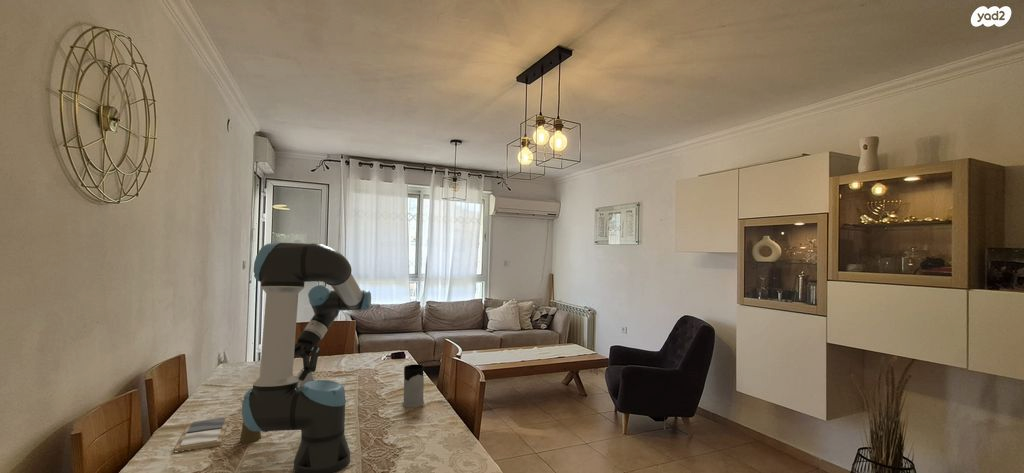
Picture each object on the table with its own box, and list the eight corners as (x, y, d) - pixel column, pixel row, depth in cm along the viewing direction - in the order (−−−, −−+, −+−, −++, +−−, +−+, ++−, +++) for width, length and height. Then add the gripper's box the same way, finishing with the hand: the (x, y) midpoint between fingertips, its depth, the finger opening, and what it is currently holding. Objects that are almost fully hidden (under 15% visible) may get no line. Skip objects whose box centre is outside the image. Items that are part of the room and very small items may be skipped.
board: (221, 445, 140) (221, 440, 140) (174, 452, 134) (174, 447, 134) (229, 420, 159) (229, 416, 159) (189, 426, 154) (189, 421, 154)
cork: (256, 433, 148) (257, 401, 149) (264, 438, 144) (265, 405, 145) (236, 439, 144) (237, 405, 144) (243, 445, 140) (244, 410, 140)
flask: (299, 384, 203) (300, 362, 203) (316, 382, 206) (317, 360, 206) (299, 388, 196) (299, 366, 196) (316, 386, 199) (317, 364, 199)
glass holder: (407, 409, 173) (408, 370, 173) (394, 399, 184) (394, 363, 185) (428, 404, 178) (428, 367, 178) (413, 395, 189) (414, 360, 190)
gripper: (282, 327, 171) (245, 376, 156) (333, 332, 162) (299, 384, 148) (292, 338, 176) (258, 387, 161) (343, 343, 167) (311, 395, 152)
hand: (278, 386), depth 154 cm, fingers open, 13 cm apart
